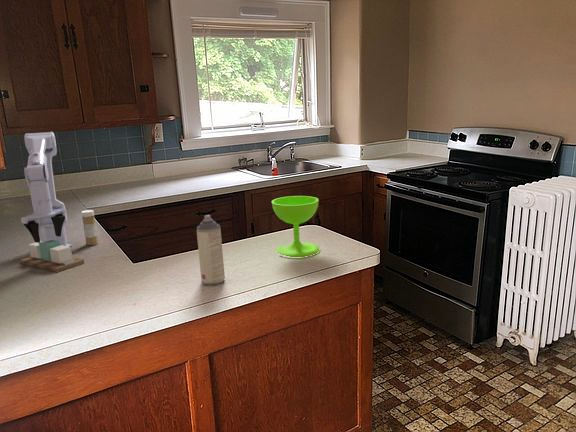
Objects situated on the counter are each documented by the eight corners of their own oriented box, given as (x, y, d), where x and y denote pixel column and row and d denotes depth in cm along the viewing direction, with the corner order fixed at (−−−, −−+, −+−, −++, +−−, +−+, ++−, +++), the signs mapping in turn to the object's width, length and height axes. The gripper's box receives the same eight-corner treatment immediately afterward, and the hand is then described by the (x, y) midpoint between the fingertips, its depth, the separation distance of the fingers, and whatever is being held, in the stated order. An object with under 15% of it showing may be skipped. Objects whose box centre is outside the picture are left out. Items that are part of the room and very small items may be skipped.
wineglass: (265, 251, 163) (262, 201, 159) (299, 241, 173) (297, 194, 169) (294, 261, 151) (292, 207, 147) (329, 250, 161) (328, 199, 157)
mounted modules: (31, 256, 164) (28, 244, 163) (43, 252, 168) (41, 241, 167) (60, 263, 155) (58, 250, 154) (72, 259, 159) (70, 246, 158)
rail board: (20, 262, 164) (20, 259, 163) (47, 254, 172) (47, 251, 172) (57, 272, 152) (56, 268, 152) (84, 262, 160) (84, 259, 160)
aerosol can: (214, 275, 142) (209, 211, 137) (229, 280, 138) (224, 214, 133) (196, 282, 137) (190, 216, 133) (211, 287, 133) (205, 219, 128)
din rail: (29, 257, 166) (29, 255, 166) (39, 254, 169) (39, 252, 169) (65, 265, 155) (64, 263, 155) (74, 262, 158) (74, 260, 158)
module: (41, 258, 161) (38, 242, 160) (53, 255, 165) (51, 238, 163) (49, 260, 158) (46, 244, 157) (62, 257, 162) (59, 240, 161)
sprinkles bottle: (88, 242, 185) (83, 210, 182) (100, 242, 185) (95, 209, 182) (84, 246, 180) (79, 212, 177) (96, 245, 181) (91, 211, 178)
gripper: (26, 205, 149) (34, 246, 152) (68, 197, 161) (74, 234, 164) (14, 204, 153) (22, 243, 156) (56, 195, 164) (62, 232, 168)
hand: (48, 239), depth 160 cm, fingers open, 7 cm apart
